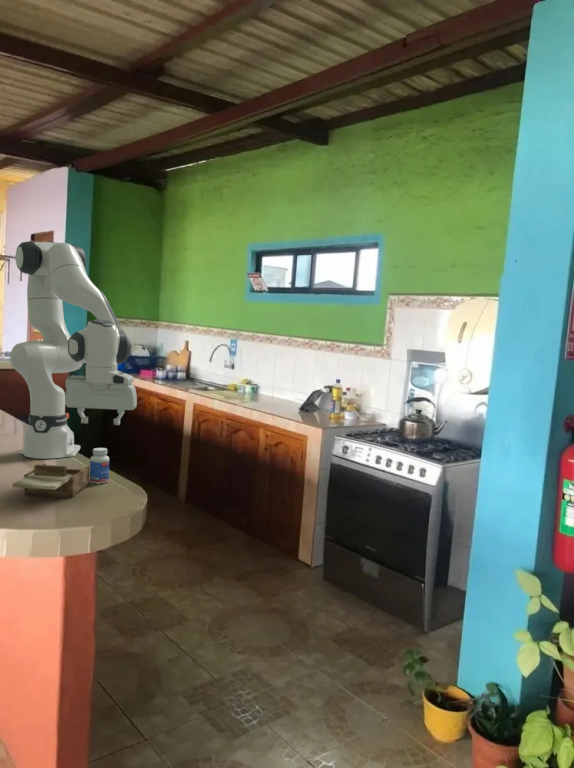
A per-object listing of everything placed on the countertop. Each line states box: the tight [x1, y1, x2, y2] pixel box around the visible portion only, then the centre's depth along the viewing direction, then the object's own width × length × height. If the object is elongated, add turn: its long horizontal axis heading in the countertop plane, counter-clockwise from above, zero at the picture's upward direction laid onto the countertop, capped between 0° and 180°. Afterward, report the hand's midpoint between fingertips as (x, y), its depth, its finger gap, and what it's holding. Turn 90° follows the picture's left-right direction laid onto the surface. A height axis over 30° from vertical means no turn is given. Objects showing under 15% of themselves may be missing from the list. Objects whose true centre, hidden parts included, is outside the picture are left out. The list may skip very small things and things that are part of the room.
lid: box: [11, 464, 74, 490], centre depth 165 cm, size 13×11×3 cm
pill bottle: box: [89, 447, 110, 485], centre depth 185 cm, size 6×5×10 cm
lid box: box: [23, 463, 90, 499], centre depth 175 cm, size 13×13×6 cm
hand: (100, 423), depth 184 cm, fingers open, 8 cm apart
